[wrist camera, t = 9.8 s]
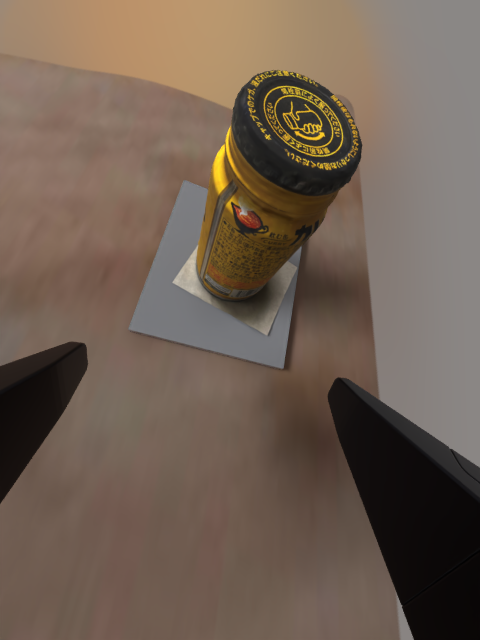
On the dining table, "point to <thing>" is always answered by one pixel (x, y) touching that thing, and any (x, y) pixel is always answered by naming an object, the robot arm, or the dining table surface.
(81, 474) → the dining table surface
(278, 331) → the board
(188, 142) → the dining table surface
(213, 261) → the condiment
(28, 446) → the robot arm
